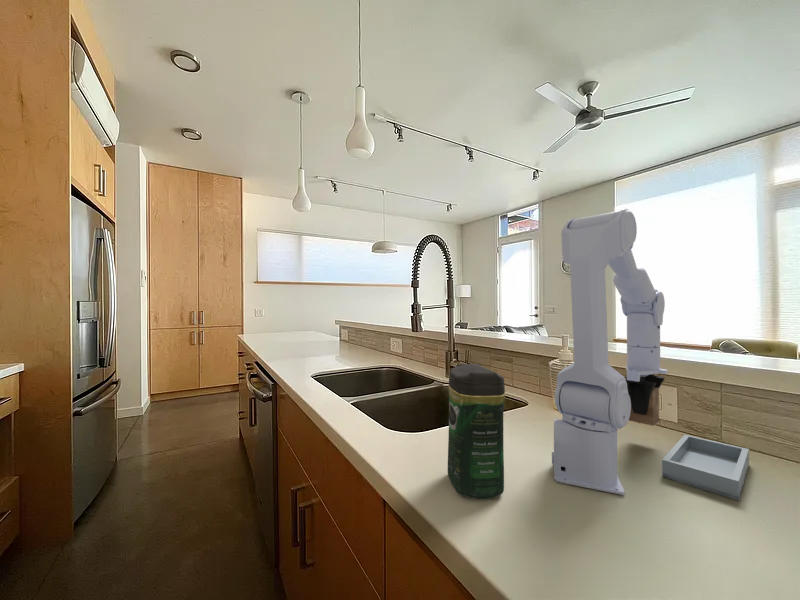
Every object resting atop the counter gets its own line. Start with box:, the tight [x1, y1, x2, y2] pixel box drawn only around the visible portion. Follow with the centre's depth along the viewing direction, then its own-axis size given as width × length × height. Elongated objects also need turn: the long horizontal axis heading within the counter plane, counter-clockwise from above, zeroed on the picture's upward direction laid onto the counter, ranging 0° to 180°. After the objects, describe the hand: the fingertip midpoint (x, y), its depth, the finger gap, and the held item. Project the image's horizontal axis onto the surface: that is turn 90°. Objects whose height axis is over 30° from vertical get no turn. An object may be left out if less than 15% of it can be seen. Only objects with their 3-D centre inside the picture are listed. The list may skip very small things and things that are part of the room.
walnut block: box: [628, 387, 660, 427], centre depth 70 cm, size 4×4×7 cm
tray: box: [661, 434, 750, 501], centre depth 58 cm, size 18×9×3 cm, turn 131°
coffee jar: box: [447, 363, 506, 501], centre depth 53 cm, size 10×8×19 cm
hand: (643, 411), depth 70 cm, fingers closed on walnut block, 4 cm apart
